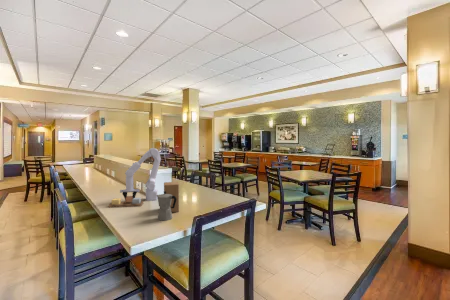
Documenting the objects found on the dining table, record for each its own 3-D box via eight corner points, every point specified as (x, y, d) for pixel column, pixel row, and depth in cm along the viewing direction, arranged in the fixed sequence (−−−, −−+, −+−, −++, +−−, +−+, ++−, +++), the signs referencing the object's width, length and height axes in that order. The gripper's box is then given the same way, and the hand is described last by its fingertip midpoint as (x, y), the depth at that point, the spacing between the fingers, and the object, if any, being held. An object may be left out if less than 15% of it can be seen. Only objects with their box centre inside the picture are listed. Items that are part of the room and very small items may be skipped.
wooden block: (164, 213, 156) (164, 185, 155) (164, 209, 165) (163, 182, 164) (178, 212, 158) (178, 184, 157) (178, 208, 168) (177, 181, 167)
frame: (143, 204, 177) (143, 200, 177) (141, 207, 169) (140, 203, 169) (112, 205, 174) (112, 202, 174) (108, 208, 166) (108, 205, 166)
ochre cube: (120, 204, 173) (120, 198, 173) (118, 206, 168) (118, 199, 168) (114, 204, 173) (113, 198, 172) (111, 206, 168) (111, 200, 168)
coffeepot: (152, 219, 144) (151, 191, 143) (161, 214, 153) (160, 188, 152) (172, 222, 139) (172, 194, 138) (180, 217, 147) (180, 190, 146)
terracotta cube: (134, 201, 184) (133, 195, 184) (132, 203, 179) (132, 197, 179) (127, 202, 183) (127, 196, 183) (125, 203, 178) (125, 197, 178)
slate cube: (140, 203, 176) (140, 197, 175) (139, 205, 171) (139, 199, 170) (134, 204, 175) (134, 197, 175) (132, 206, 170) (132, 199, 170)
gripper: (140, 183, 185) (140, 199, 186) (121, 183, 183) (122, 200, 184) (138, 185, 178) (138, 201, 179) (118, 185, 176) (119, 202, 177)
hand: (130, 201), depth 181 cm, fingers closed on terracotta cube, 5 cm apart
